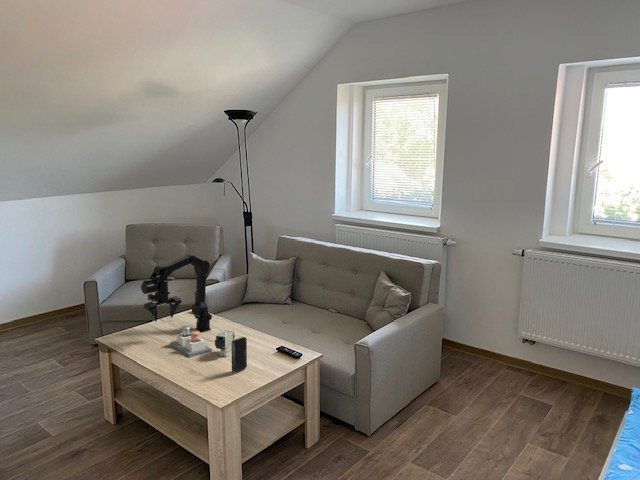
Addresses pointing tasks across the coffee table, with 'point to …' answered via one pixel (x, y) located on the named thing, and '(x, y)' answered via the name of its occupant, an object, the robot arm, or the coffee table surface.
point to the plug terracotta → (194, 336)
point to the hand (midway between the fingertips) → (163, 319)
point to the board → (190, 346)
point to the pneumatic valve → (224, 342)
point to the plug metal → (185, 331)
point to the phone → (239, 354)
